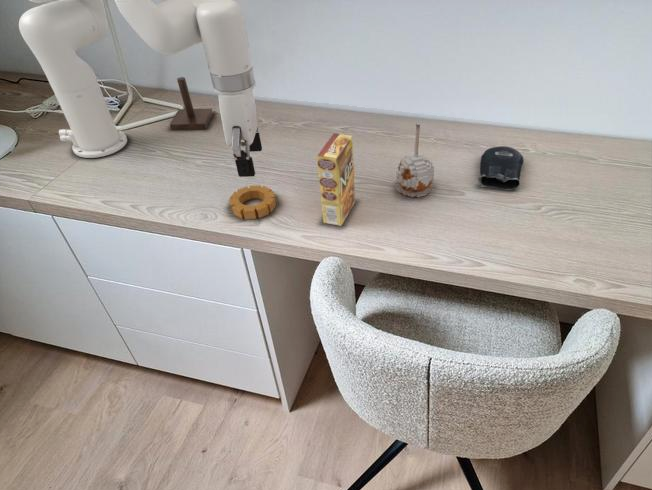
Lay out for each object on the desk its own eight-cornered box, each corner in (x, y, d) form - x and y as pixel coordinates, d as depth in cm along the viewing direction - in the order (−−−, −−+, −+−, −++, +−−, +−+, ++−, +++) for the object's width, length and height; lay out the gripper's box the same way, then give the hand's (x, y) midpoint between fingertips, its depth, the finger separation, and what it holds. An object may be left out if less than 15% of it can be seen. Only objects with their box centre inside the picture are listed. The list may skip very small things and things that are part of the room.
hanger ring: (227, 219, 100) (225, 211, 98) (235, 193, 106) (233, 185, 105) (273, 218, 100) (272, 210, 98) (278, 192, 106) (277, 184, 105)
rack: (171, 129, 128) (157, 86, 120) (180, 114, 134) (168, 71, 127) (205, 129, 128) (194, 85, 120) (213, 113, 134) (202, 71, 126)
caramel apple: (390, 183, 108) (391, 119, 98) (421, 175, 110) (426, 112, 100) (405, 202, 103) (408, 136, 92) (438, 193, 105) (445, 128, 94)
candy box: (342, 227, 97) (338, 158, 87) (322, 223, 98) (315, 155, 88) (356, 202, 103) (353, 135, 93) (337, 198, 104) (332, 132, 94)
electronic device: (521, 197, 106) (523, 154, 115) (522, 177, 102) (525, 133, 111) (477, 196, 108) (482, 154, 117) (476, 176, 104) (482, 134, 113)
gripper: (221, 61, 94) (239, 142, 106) (201, 100, 82) (224, 187, 93) (260, 60, 94) (274, 141, 106) (246, 98, 82) (263, 185, 93)
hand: (251, 162), depth 100 cm, fingers open, 9 cm apart
